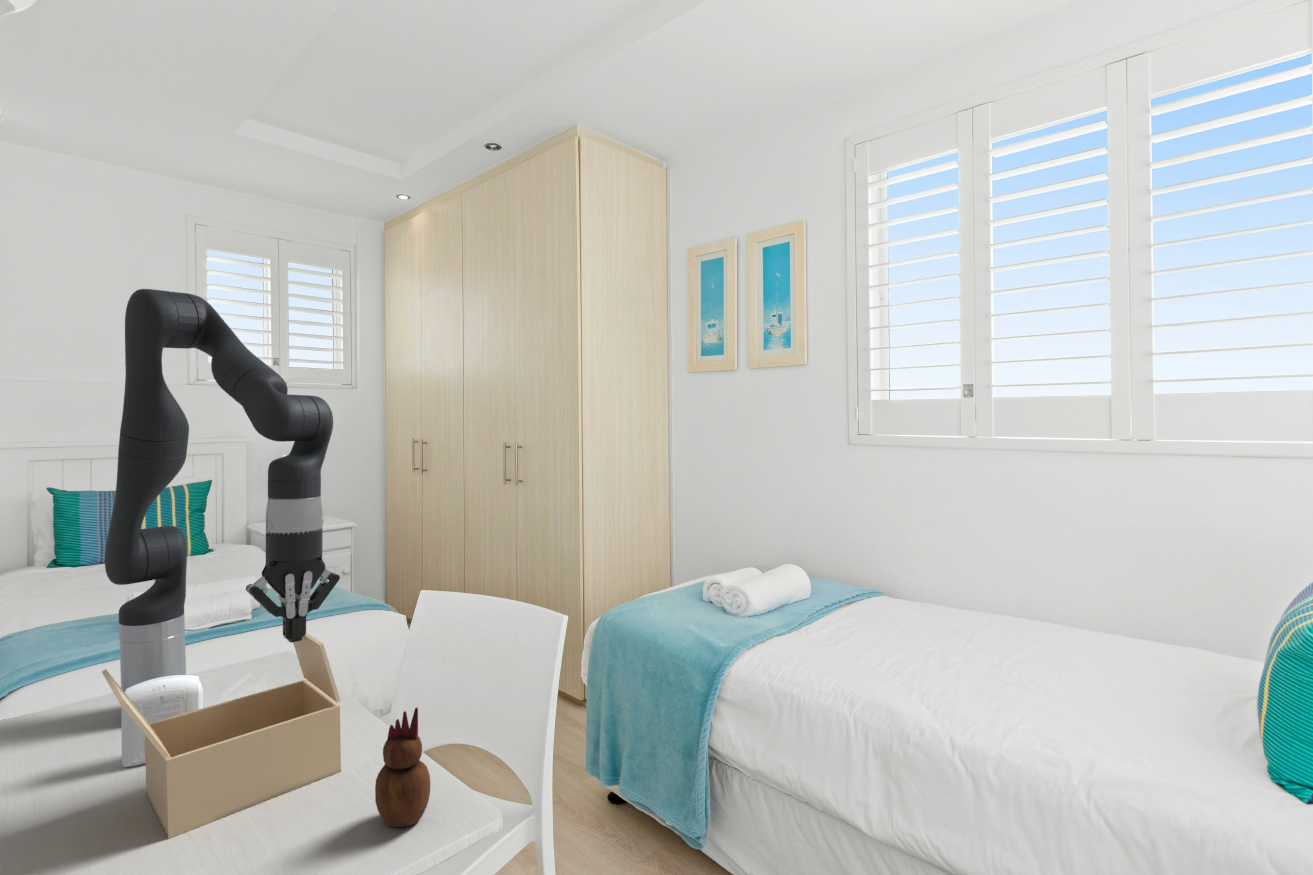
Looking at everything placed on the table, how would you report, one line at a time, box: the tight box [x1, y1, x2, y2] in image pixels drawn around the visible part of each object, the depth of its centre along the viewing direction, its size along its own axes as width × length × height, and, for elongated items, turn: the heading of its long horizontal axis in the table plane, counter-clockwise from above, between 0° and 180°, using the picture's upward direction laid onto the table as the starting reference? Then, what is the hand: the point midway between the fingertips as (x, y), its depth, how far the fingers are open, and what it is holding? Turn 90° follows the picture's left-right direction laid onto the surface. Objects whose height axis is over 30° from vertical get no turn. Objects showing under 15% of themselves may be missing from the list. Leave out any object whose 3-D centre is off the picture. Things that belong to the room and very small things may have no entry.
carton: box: [144, 679, 342, 839], centre depth 94 cm, size 14×21×10 cm, turn 137°
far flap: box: [292, 632, 341, 704], centre depth 100 cm, size 14×10×1 cm
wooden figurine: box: [374, 707, 431, 828], centre depth 85 cm, size 7×6×15 cm
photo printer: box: [120, 674, 204, 768], centre depth 101 cm, size 10×4×12 cm, turn 123°
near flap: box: [101, 669, 169, 759], centre depth 84 cm, size 14×10×1 cm
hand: (294, 640), depth 98 cm, fingers closed
